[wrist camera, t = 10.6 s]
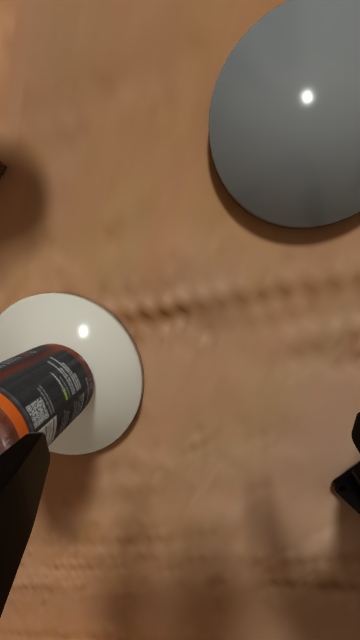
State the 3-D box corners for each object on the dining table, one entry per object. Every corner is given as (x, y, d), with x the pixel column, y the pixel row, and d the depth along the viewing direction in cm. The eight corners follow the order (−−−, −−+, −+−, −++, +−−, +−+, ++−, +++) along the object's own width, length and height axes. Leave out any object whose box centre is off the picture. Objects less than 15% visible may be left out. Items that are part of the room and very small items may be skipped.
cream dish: (178, 377, 21) (176, 382, 20) (76, 475, 24) (70, 484, 23) (53, 256, 21) (44, 255, 20) (-34, 370, 24) (-45, 375, 23)
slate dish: (472, 107, 15) (489, 96, 14) (303, 268, 18) (307, 267, 17) (317, -47, 15) (324, -69, 14) (171, 139, 18) (168, 131, 17)
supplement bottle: (11, 380, 22) (-199, 491, 11) (51, 325, 21) (-144, 388, 10) (69, 429, 22) (-84, 589, 11) (112, 377, 21) (-13, 500, 10)
